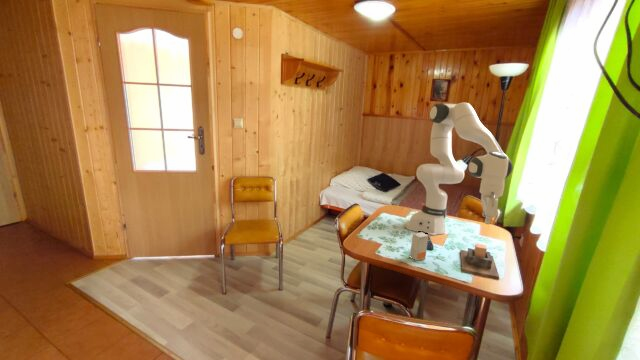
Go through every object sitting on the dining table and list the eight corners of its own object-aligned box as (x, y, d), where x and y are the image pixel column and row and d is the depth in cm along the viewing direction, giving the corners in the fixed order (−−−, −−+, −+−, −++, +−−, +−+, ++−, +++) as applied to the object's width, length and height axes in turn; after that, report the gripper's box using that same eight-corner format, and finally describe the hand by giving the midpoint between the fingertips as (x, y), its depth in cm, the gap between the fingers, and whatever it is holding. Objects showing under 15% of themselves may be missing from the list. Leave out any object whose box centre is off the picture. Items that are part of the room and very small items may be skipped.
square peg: (473, 263, 135) (476, 246, 133) (473, 259, 139) (475, 243, 137) (483, 265, 134) (486, 248, 132) (482, 261, 138) (485, 245, 136)
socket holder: (462, 271, 130) (464, 260, 129) (460, 252, 148) (461, 242, 147) (498, 279, 125) (501, 268, 124) (492, 258, 143) (494, 248, 142)
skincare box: (415, 261, 138) (418, 237, 135) (409, 256, 141) (412, 233, 139) (425, 259, 140) (429, 235, 137) (419, 254, 144) (422, 231, 141)
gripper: (504, 197, 118) (497, 230, 121) (496, 185, 136) (490, 213, 139) (486, 195, 120) (480, 227, 123) (480, 183, 138) (475, 211, 142)
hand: (485, 219), depth 132 cm, fingers open, 8 cm apart
